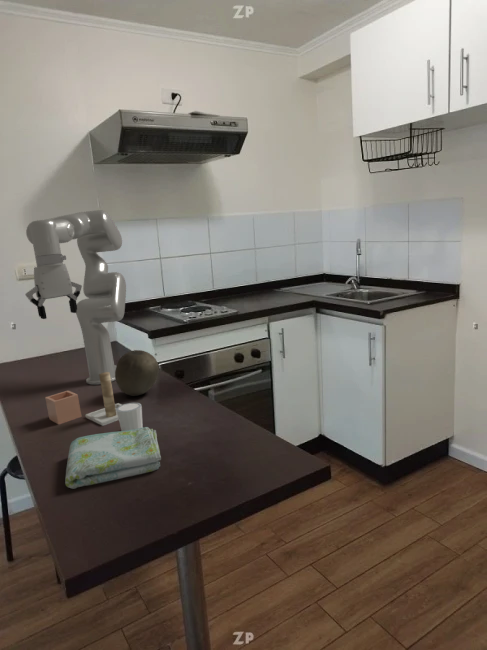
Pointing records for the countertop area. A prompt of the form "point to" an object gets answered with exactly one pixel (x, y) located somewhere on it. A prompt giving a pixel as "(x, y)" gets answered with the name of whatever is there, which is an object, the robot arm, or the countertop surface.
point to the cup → (63, 407)
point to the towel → (111, 456)
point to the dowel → (107, 394)
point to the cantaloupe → (136, 372)
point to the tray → (102, 416)
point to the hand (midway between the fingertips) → (59, 315)
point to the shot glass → (130, 416)
